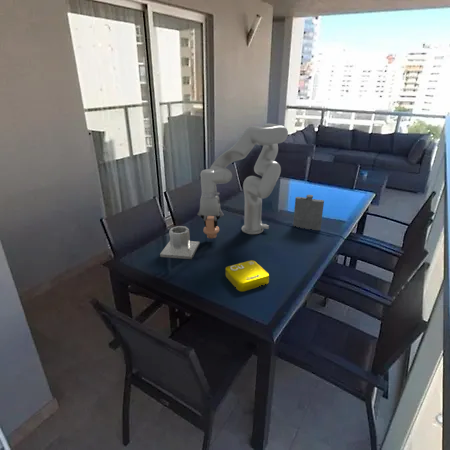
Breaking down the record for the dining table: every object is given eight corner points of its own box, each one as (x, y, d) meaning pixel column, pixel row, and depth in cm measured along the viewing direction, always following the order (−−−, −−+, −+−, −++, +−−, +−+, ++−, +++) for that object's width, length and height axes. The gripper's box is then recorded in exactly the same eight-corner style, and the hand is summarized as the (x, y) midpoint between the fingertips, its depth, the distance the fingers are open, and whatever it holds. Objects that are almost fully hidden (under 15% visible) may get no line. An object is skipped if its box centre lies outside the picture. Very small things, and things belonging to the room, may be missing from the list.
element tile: (239, 293, 131) (239, 283, 129) (224, 275, 143) (223, 266, 141) (270, 283, 137) (271, 274, 135) (252, 267, 149) (253, 258, 147)
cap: (220, 233, 175) (220, 215, 170) (217, 240, 167) (217, 222, 163) (205, 232, 176) (204, 214, 172) (202, 239, 169) (201, 221, 164)
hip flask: (321, 228, 186) (325, 196, 178) (319, 231, 183) (323, 198, 174) (293, 224, 192) (296, 192, 184) (292, 226, 189) (294, 194, 181)
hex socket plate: (199, 244, 170) (198, 224, 165) (191, 259, 155) (190, 238, 151) (170, 242, 172) (169, 222, 168) (160, 256, 158) (158, 236, 153)
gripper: (226, 192, 163) (227, 224, 171) (195, 191, 166) (197, 223, 174) (224, 197, 157) (225, 230, 165) (191, 196, 160) (194, 229, 167)
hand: (211, 226), depth 169 cm, fingers closed on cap, 4 cm apart
